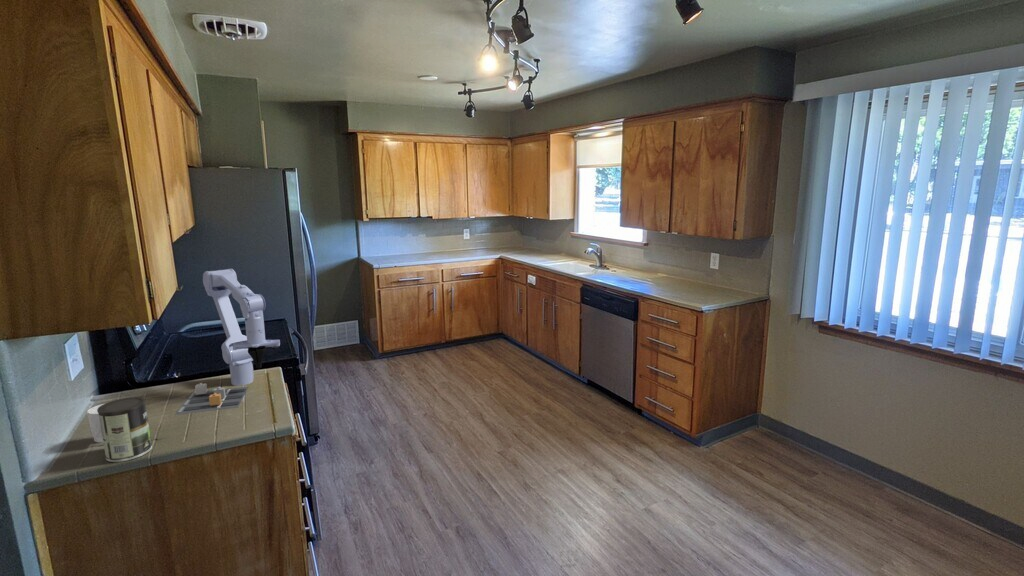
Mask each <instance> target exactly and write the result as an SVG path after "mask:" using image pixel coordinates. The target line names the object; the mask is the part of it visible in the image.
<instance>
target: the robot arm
mask: <svg viewBox="0 0 1024 576" xmlns="http://www.w3.org/2000/svg"><path fill="white" fill-rule="evenodd" d="M202 283H203V287H204V289H205V292H206V294H207V296H209V297H212V299H213V301H214V302H213V303H214V305H215V307H216V310H217V314H218V316H219V319H220V321H221V322H220V323H221V325H222V328H223V330H224V333H225V336H226V339H225V341H224V342H223V343H222V344H221V352H222V359H223V361H224V362H225V363H226V364H227V365H229V372H230V383H231V385H232V386H239V387H240V386H245V385H249V384H251V383H253V382H254V377H255V375H254V364H255V368H256V369H261V368H262V364H263V363H262V362H263V359H264V354H265V351H266V349H267V348H270V347H280V345H281V339H266V331H265V321H264V319H265V318H264V311H265V310H266V303H267V302H266V300H265V297H264V296H263V295H262V294H261V293H259V294H258V293H256V294H255V293H254V292H253V291H252V290H251V289H250V288H249V287H248V286H246V284H241V283H240V282H239V281H238V277H237V273H236V271H235V270H234V269H233V268H226V269H218V270H209V271H208V270H206V271H204V272H203V274H202ZM230 295H231V297H232V298H233V299H234V300H235V301H236V302H237V303H238V304H239V307H240V310H241V314H242V317H243V319H244V324H245V334H246V335H244V334H242V331H241V328H240V326H239V322H238V319H237V317H236V313H235V311H234V308H233V305H232V303H231V300H230V298H229V296H230ZM253 363H254V364H253Z"/></svg>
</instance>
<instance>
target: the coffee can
mask: <svg viewBox="0 0 1024 576" xmlns="http://www.w3.org/2000/svg"><path fill="white" fill-rule="evenodd" d="M146 403H147V399H146V398H145V397H142V396H141V397H140V396H133V397H123V398H118V399H114V400H111V401H109V402H106V403H103V404H104V405H102V406H100V407H99V408H98V409H97V412H98V413H99V419H100V425H101V431H102V437H103V442H102V443H103V445H104V446H103V447H104V453H105V461H108V462H109V463H120V462H126V461H127V462H128V461H130V460H134V459H138V458H140V457H143V456H145V455H146V454H148V453H149V452H150V451H151V450H152V449H153V445H152V440H151V432H150V425H149V418H148V412H147V404H146Z"/></svg>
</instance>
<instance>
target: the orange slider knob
mask: <svg viewBox="0 0 1024 576" xmlns="http://www.w3.org/2000/svg"><path fill="white" fill-rule="evenodd" d="M209 402H210V406H212V405H220V404H221V403H222V400H221V394H216V393H214V394H213V395H210V396H209Z"/></svg>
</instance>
